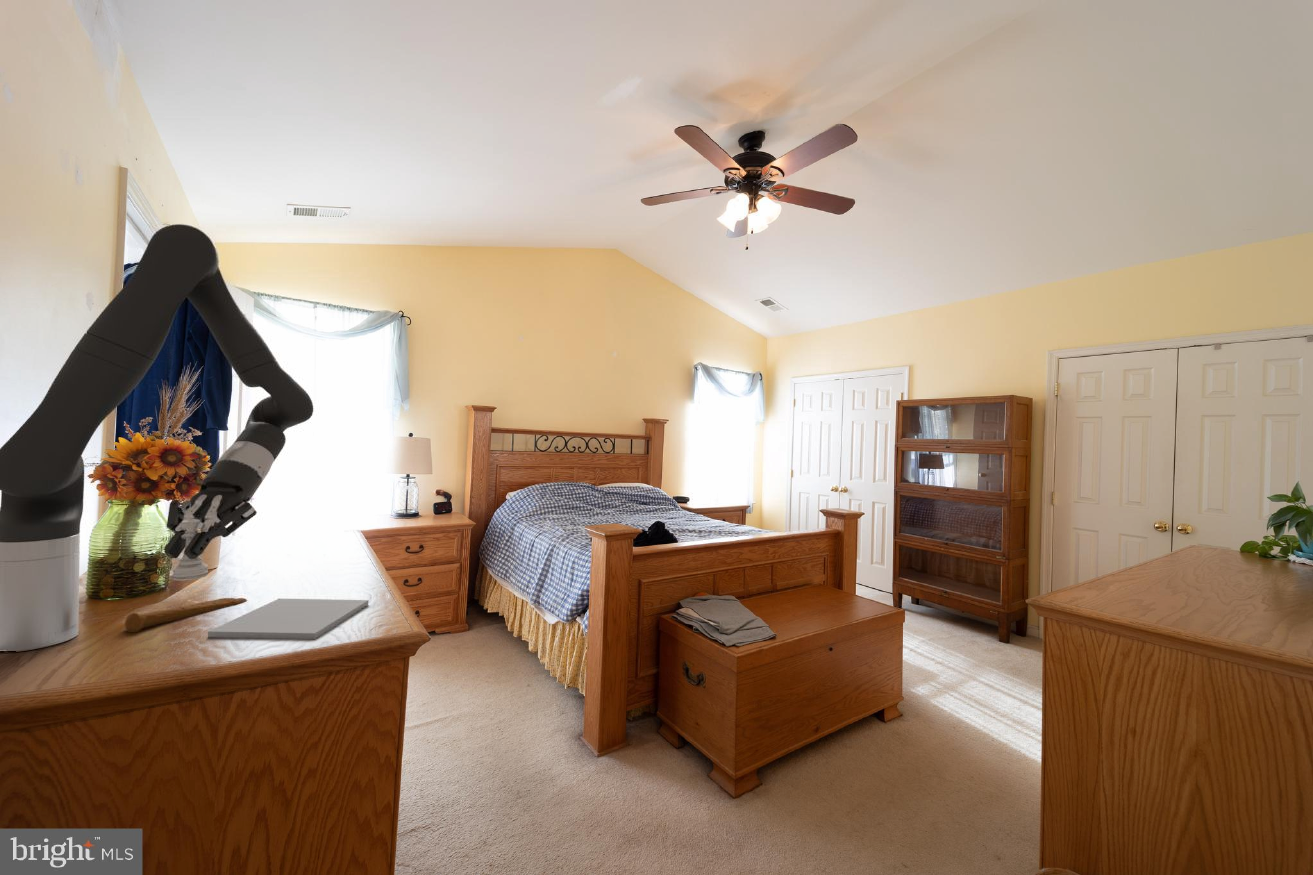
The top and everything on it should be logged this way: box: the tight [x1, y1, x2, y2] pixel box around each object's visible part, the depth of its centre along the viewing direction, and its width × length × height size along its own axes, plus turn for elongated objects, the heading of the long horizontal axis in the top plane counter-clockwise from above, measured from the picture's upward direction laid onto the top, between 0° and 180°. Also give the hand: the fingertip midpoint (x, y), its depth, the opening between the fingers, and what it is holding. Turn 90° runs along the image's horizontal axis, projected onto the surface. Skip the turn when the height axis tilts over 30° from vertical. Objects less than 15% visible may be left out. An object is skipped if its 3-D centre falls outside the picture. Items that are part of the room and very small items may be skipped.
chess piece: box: [171, 515, 209, 582], centre depth 87 cm, size 4×4×10 cm
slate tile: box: [207, 598, 369, 640], centre depth 101 cm, size 18×18×1 cm
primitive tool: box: [124, 597, 248, 633], centre depth 102 cm, size 19×6×4 cm, turn 168°
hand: (180, 555), depth 84 cm, fingers closed on chess piece, 2 cm apart
